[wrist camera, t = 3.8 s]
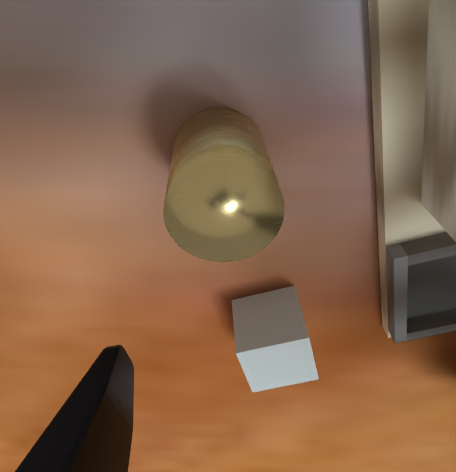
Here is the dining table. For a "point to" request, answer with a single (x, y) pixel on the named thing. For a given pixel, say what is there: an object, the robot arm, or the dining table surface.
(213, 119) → the brass cylinder
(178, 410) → the dining table surface
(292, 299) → the grey block
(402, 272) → the mounted unit
